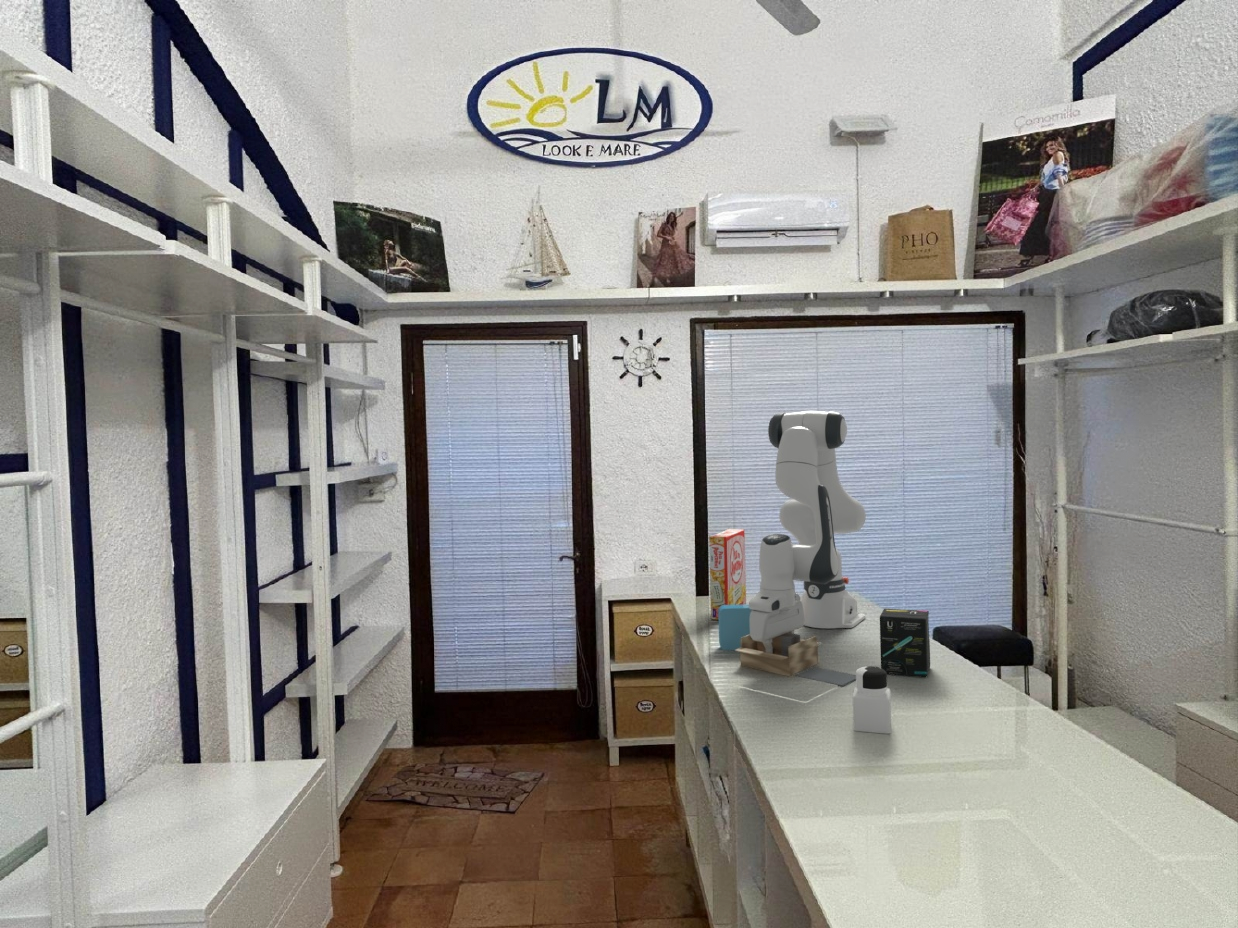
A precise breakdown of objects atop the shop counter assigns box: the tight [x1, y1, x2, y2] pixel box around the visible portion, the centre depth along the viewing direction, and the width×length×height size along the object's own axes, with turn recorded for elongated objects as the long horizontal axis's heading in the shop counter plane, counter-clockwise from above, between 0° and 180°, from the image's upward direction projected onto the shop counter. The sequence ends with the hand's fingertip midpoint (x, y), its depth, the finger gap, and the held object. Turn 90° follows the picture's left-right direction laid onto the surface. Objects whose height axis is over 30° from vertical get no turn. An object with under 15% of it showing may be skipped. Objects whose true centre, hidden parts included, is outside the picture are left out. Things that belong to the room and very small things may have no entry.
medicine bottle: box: [852, 665, 892, 735], centre depth 166 cm, size 7×7×12 cm
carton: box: [734, 635, 822, 677], centre depth 209 cm, size 19×15×8 cm
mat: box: [794, 665, 856, 688], centre depth 199 cm, size 9×13×1 cm
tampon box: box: [879, 608, 931, 679], centre depth 201 cm, size 11×9×15 cm
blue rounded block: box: [718, 603, 752, 651], centre depth 226 cm, size 12×4×12 cm, turn 87°
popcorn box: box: [708, 528, 747, 621], centre depth 268 cm, size 20×6×27 cm, turn 155°
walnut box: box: [758, 633, 801, 657], centre depth 209 cm, size 4×10×8 cm, turn 46°
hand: (779, 651), depth 209 cm, fingers open, 7 cm apart
